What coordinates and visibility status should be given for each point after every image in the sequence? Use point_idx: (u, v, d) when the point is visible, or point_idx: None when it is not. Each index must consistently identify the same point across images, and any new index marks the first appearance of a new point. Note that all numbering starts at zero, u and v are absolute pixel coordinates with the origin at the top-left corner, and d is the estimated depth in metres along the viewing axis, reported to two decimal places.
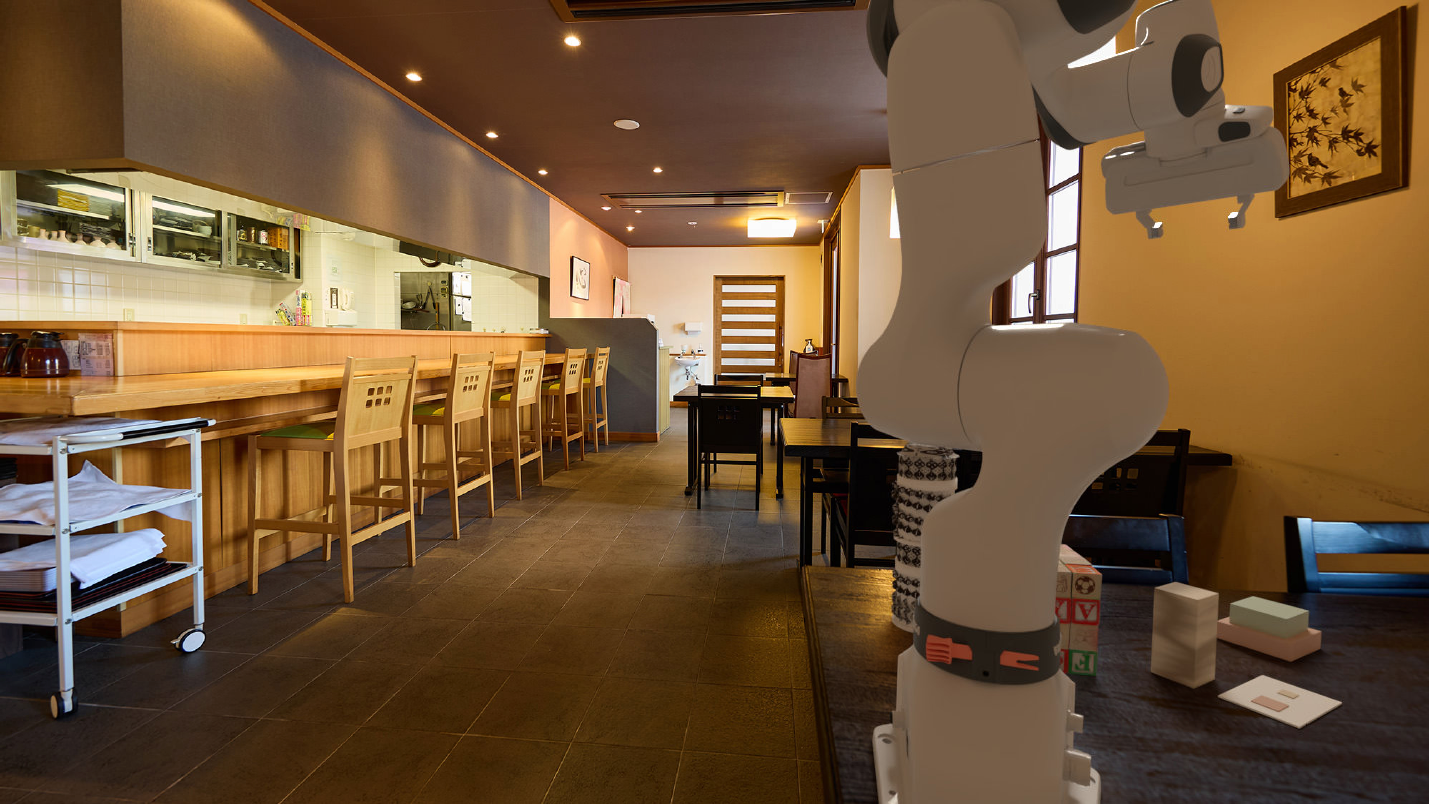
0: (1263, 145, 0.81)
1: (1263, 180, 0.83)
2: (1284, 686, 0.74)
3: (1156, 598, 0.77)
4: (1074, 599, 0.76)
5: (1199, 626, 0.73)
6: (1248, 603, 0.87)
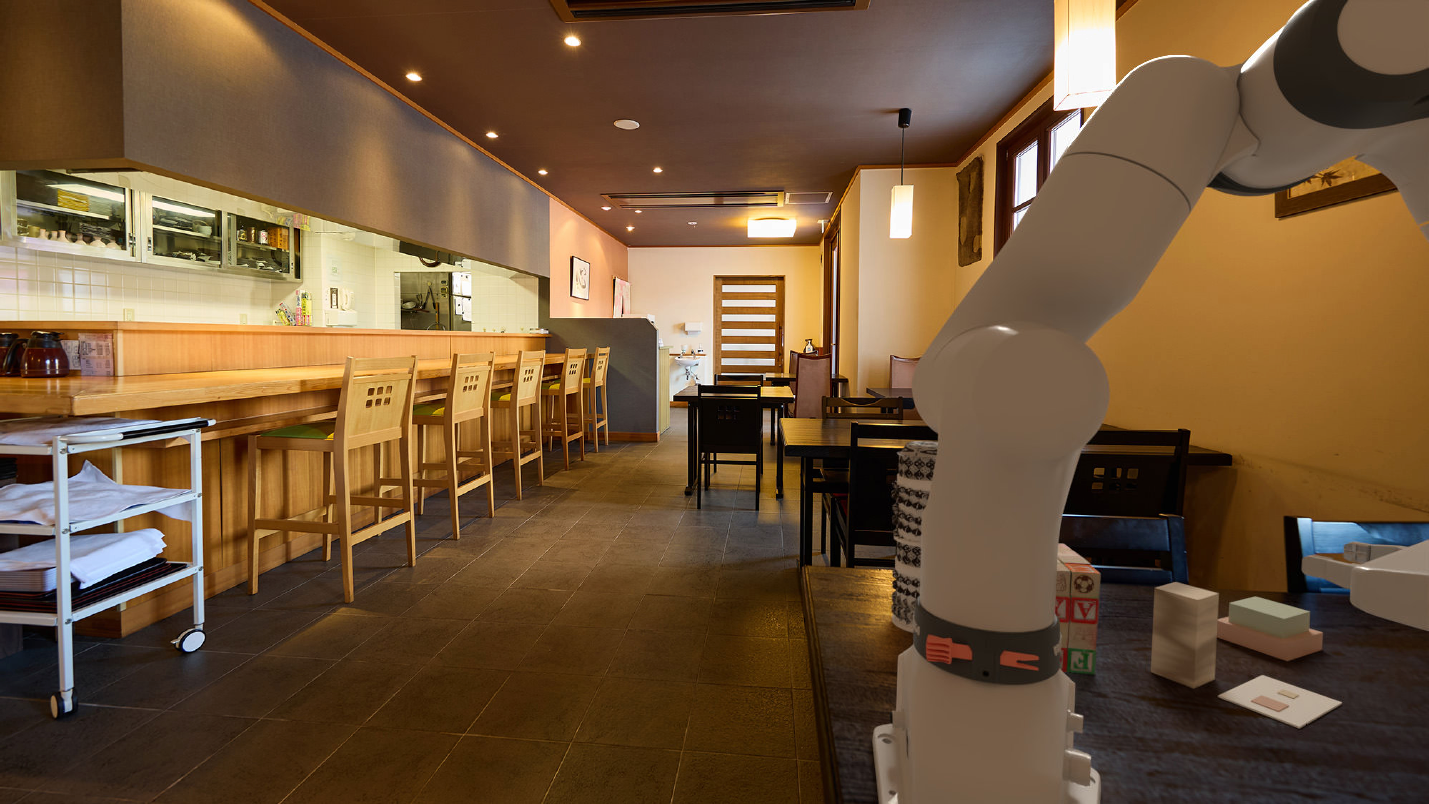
0: None
1: (1383, 567, 0.56)
2: (1284, 686, 0.74)
3: (1156, 598, 0.77)
4: (1073, 598, 0.77)
5: (1199, 626, 0.73)
6: (1248, 602, 0.87)
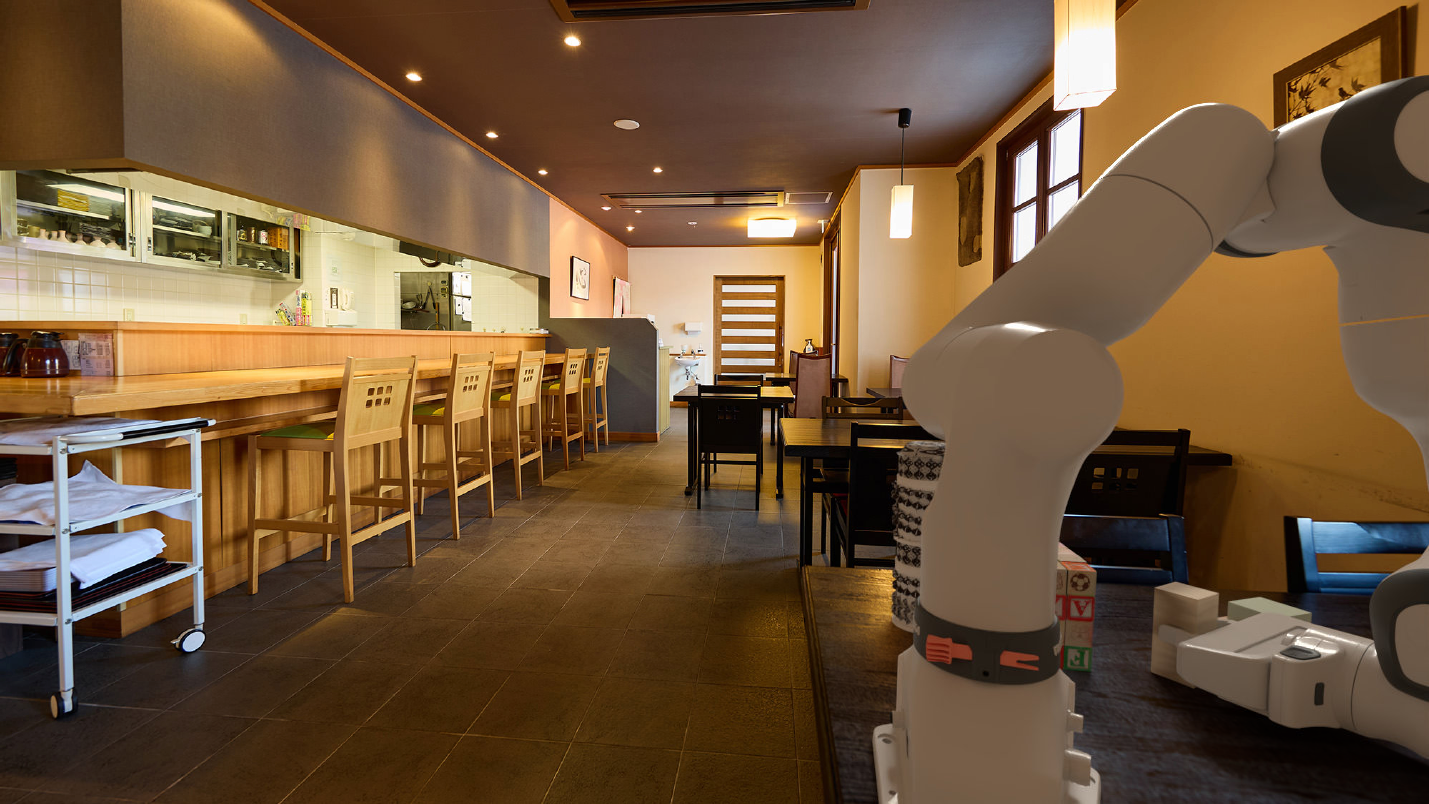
0: (1251, 655, 0.63)
1: (1201, 644, 0.68)
2: None
3: (1156, 598, 0.77)
4: (1069, 596, 0.77)
5: (1199, 625, 0.73)
6: (1248, 602, 0.87)
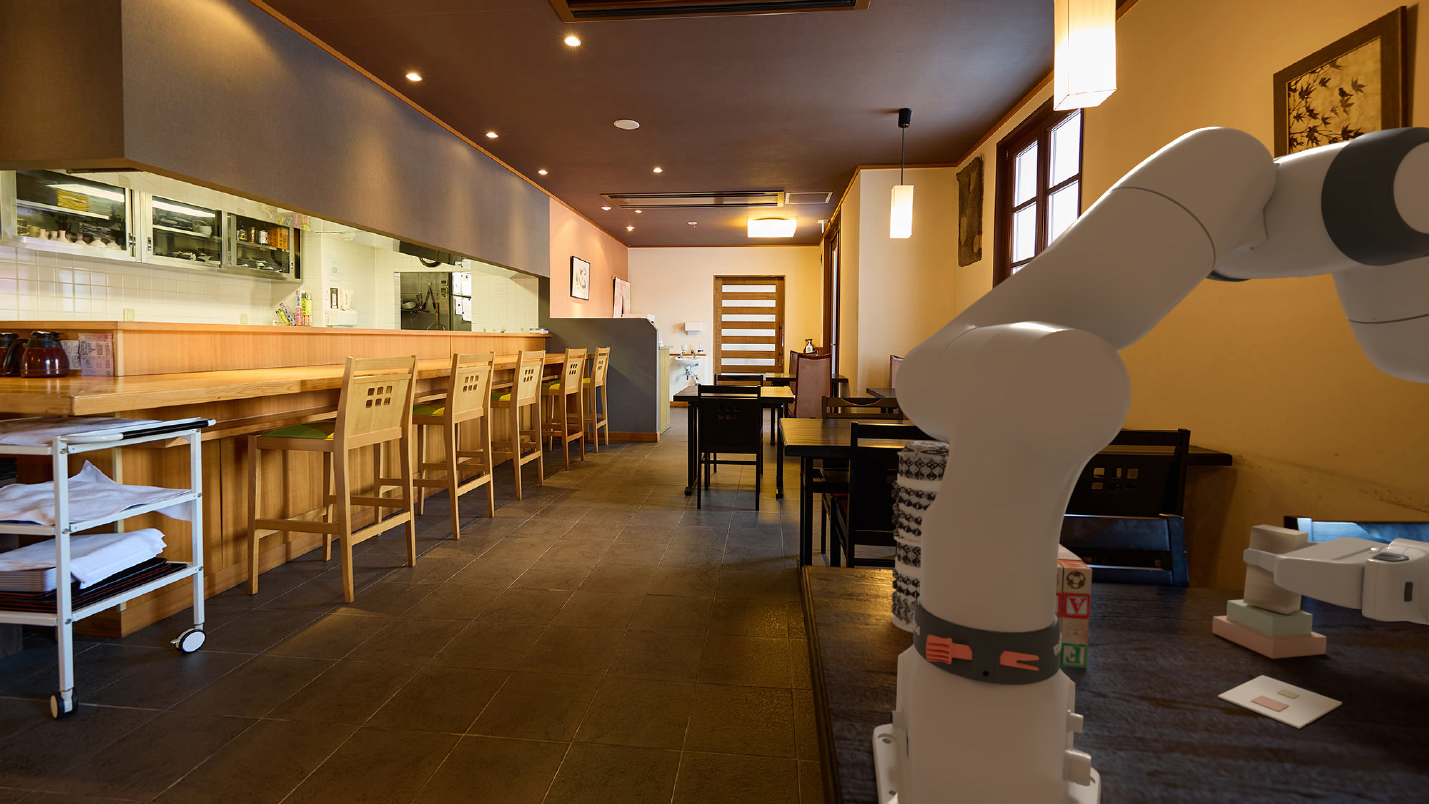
0: (1346, 561, 0.72)
1: (1296, 556, 0.76)
2: (1284, 686, 0.74)
3: (1252, 536, 0.86)
4: (1065, 593, 0.78)
5: None
6: None
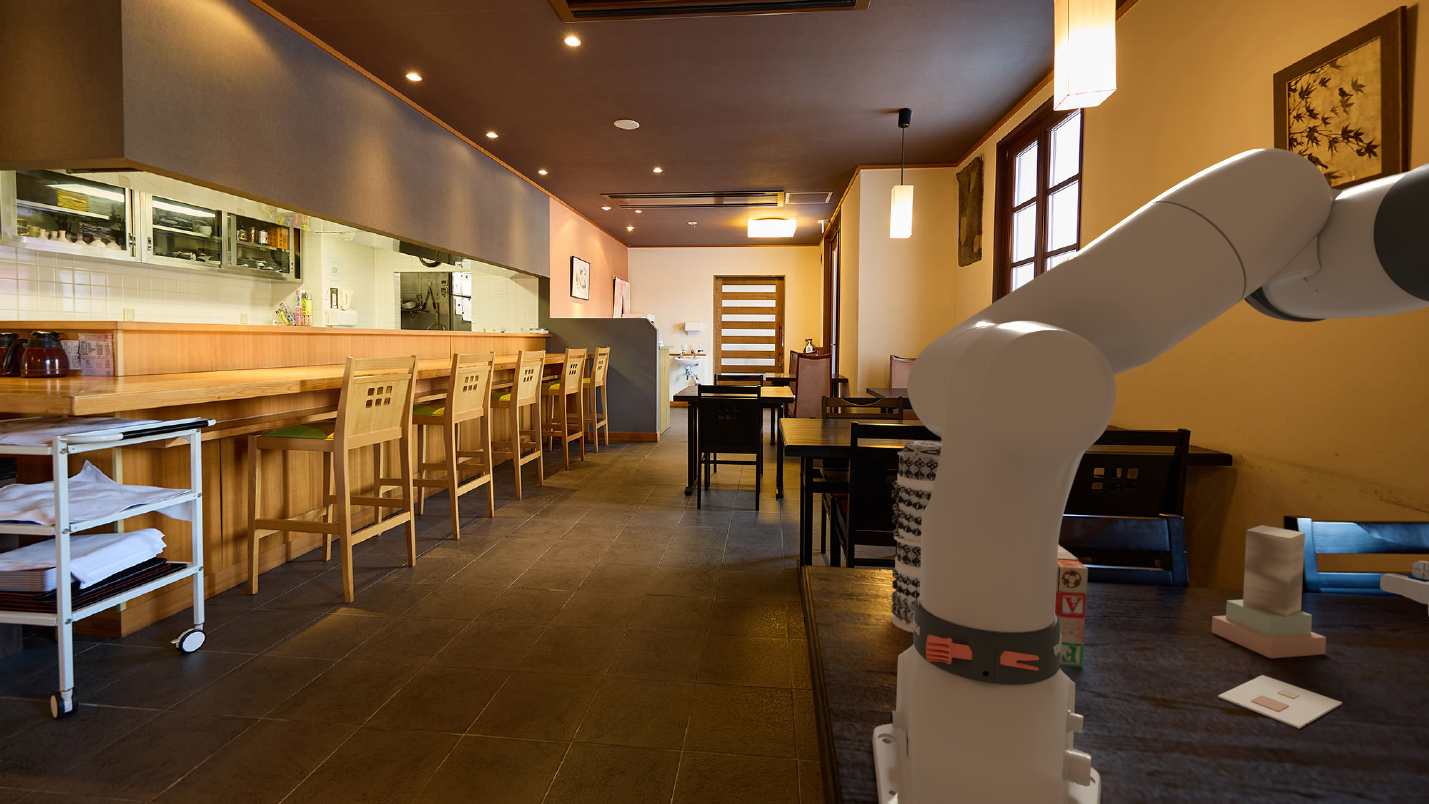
0: None
1: None
2: (1284, 686, 0.74)
3: (1248, 539, 0.85)
4: (1061, 592, 0.78)
5: (1291, 561, 0.82)
6: None
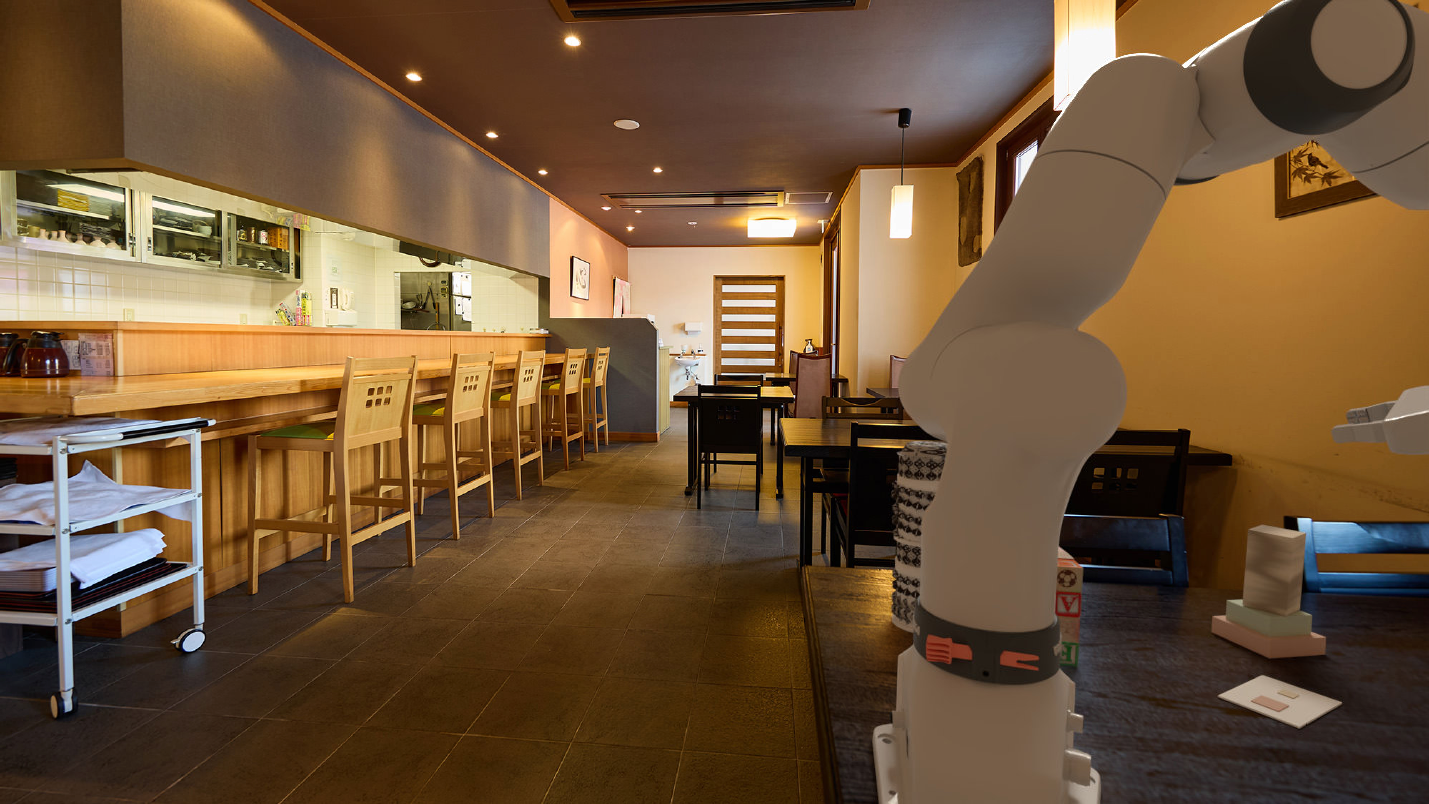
0: None
1: (1404, 415, 0.67)
2: (1284, 686, 0.74)
3: (1250, 538, 0.85)
4: (1056, 591, 0.79)
5: (1292, 561, 0.82)
6: None
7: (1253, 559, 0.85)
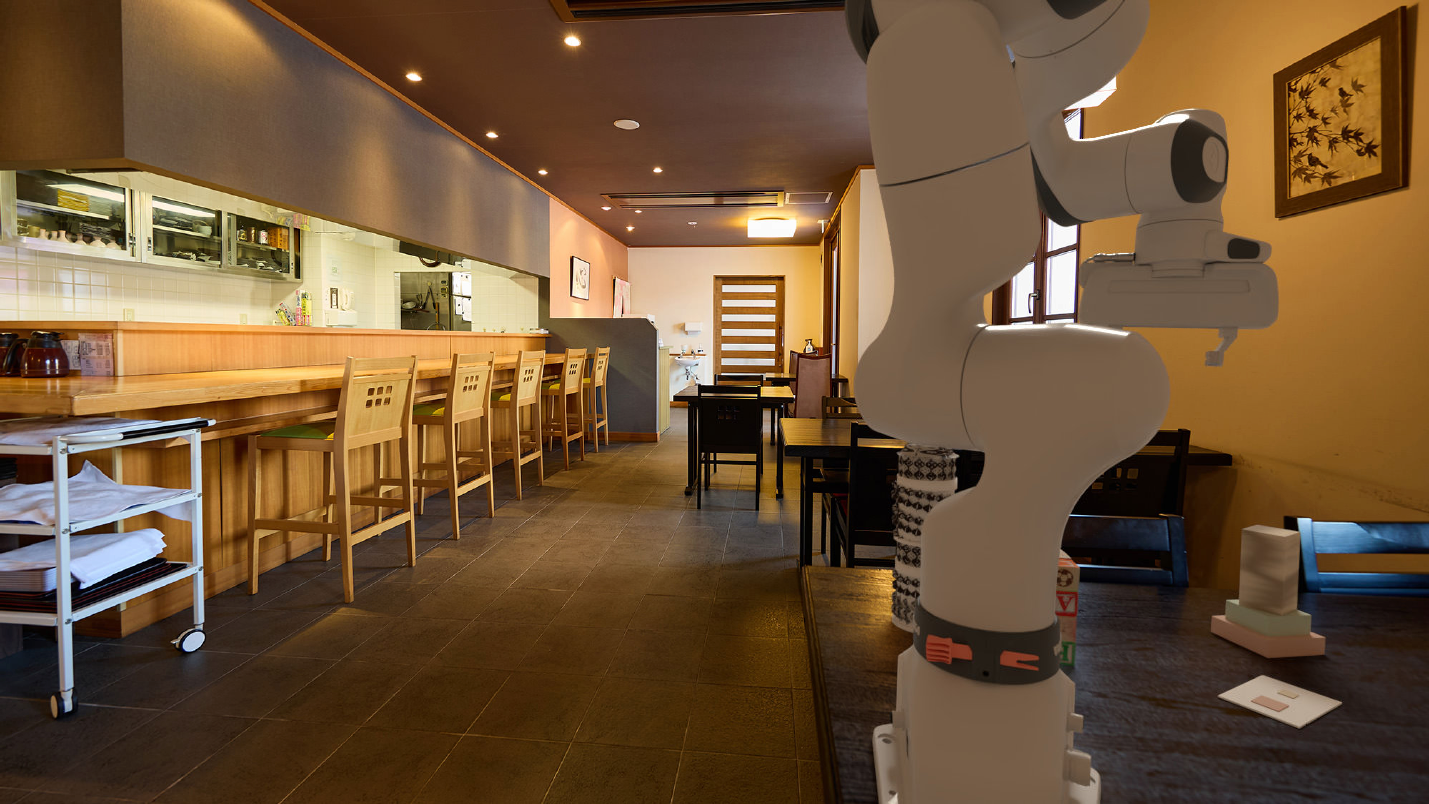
0: (1267, 273, 0.76)
1: (1257, 312, 0.77)
2: (1284, 686, 0.74)
3: (1243, 538, 0.86)
4: None
5: (1286, 560, 0.82)
6: None
7: (1247, 558, 0.85)
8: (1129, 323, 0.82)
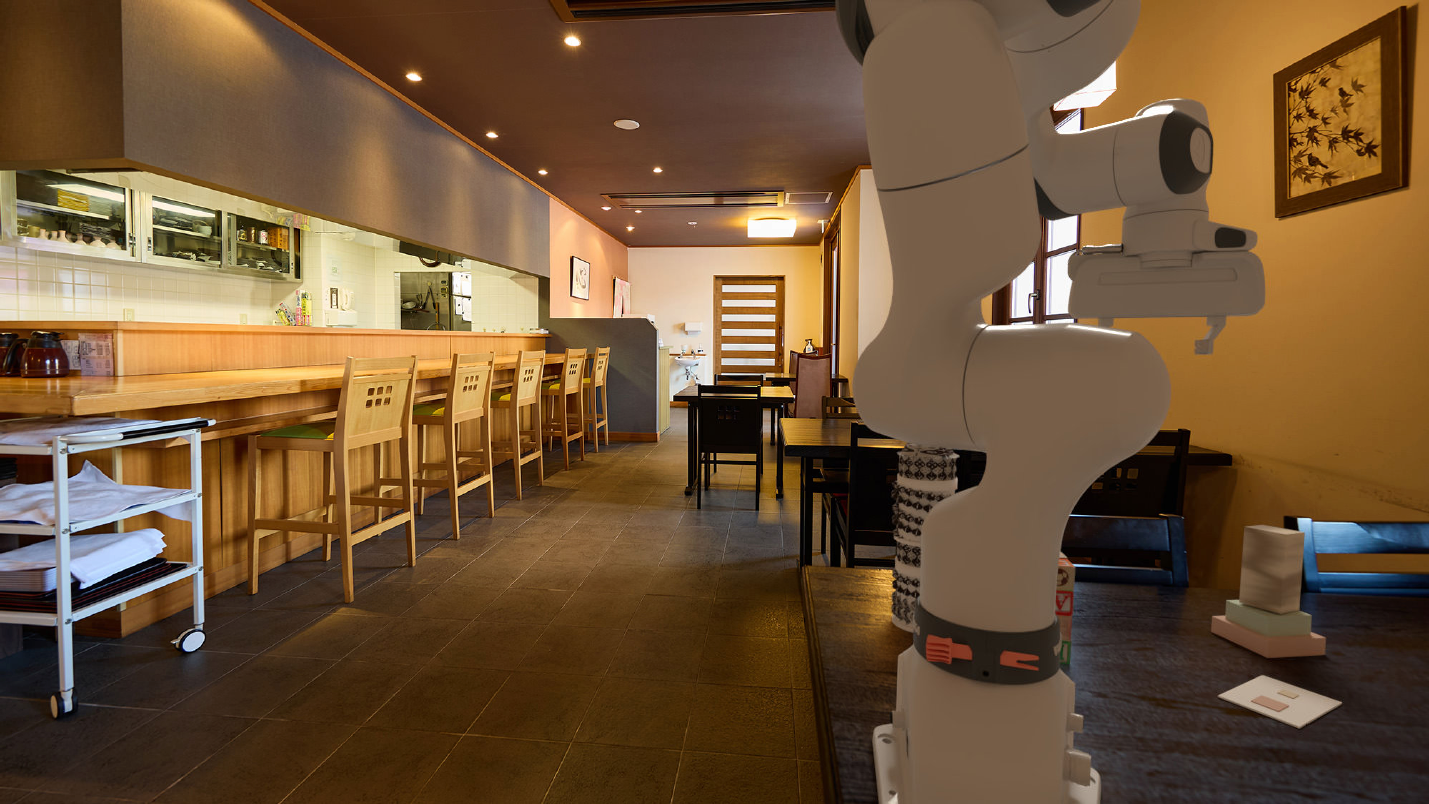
0: (1253, 261, 0.77)
1: (1245, 300, 0.78)
2: (1284, 686, 0.74)
3: (1246, 535, 0.86)
4: None
5: (1286, 558, 0.83)
6: None
7: (1249, 556, 0.86)
8: (1120, 315, 0.82)
